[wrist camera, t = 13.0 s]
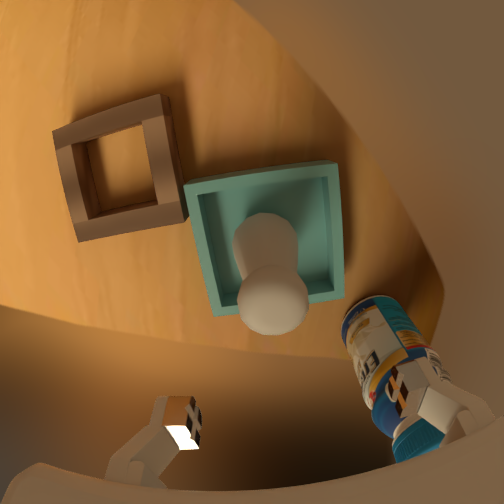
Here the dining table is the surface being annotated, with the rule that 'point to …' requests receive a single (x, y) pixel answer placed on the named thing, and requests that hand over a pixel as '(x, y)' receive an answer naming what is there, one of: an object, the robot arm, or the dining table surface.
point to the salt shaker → (269, 275)
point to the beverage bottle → (379, 369)
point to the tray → (277, 202)
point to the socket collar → (160, 158)
